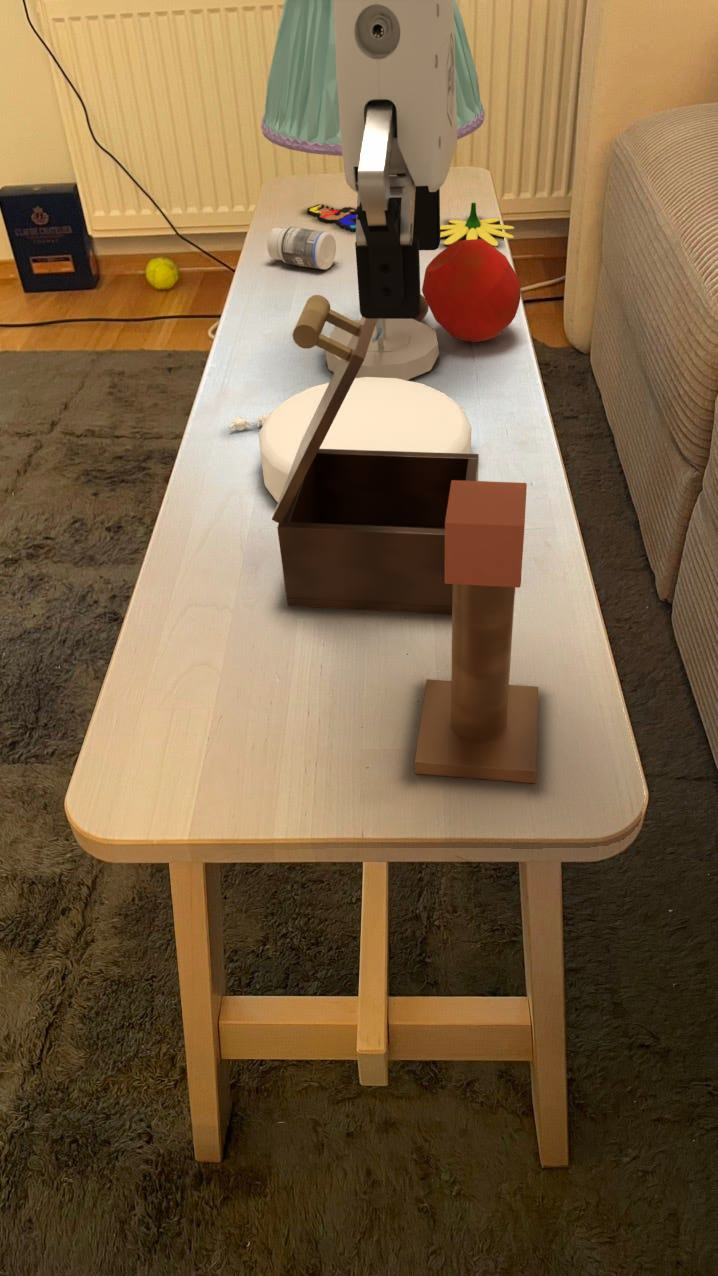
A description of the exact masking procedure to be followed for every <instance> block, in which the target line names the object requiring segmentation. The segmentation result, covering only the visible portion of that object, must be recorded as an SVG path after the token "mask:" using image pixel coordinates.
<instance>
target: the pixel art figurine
mask: <svg viewBox="0 0 718 1276" xmlns="http://www.w3.org/2000/svg"><path fill="white" fill-rule="evenodd" d="M356 210H357V208H354V207H351V206H348V207H347V206H345V207H342V208H339V209H337V208H336V209H335V208H334V207H330V206H328V205H326V206H325V205H324V204H316V205H313V206H311V207H308V208H307V209H306V214H307V215H310V216H314V217H317V221H320V222H322V223H325V224H335V225H336V226H338V227H339V228H340V229H344V230H345V231H348V232H352V233H356V217H357V215H356Z"/></svg>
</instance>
